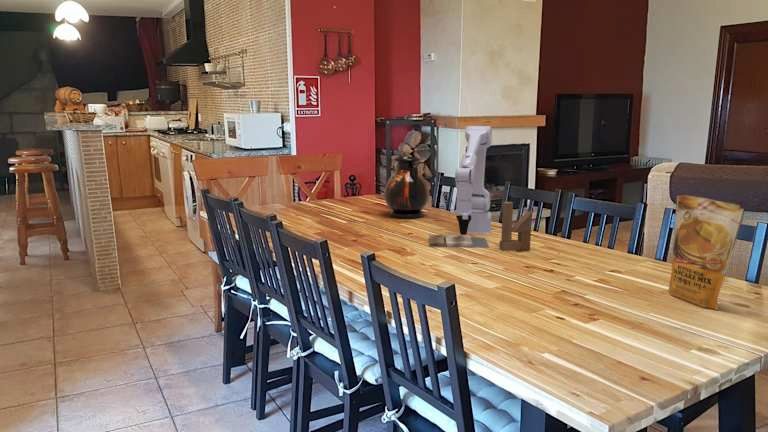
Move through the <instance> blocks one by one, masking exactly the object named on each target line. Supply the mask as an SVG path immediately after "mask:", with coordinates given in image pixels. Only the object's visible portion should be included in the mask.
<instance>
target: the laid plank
mask: <svg viewBox="0 0 768 432" xmlns="http://www.w3.org/2000/svg"><path fill="white" fill-rule="evenodd" d="M428 239H429V240H428V241H429V247H430V246H446V242H445V236H444V235H443V234H429V236H428Z"/></svg>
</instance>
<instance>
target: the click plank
mask: <svg viewBox="0 0 768 432" xmlns="http://www.w3.org/2000/svg"><path fill="white" fill-rule="evenodd" d="M444 237H445V240H446V245H447V246H452V247H451V248H466V247H473V242H472V240H471V238H472V237H471V235H470V234H466V235H461V234H445V235H444Z"/></svg>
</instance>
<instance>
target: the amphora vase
mask: <svg viewBox="0 0 768 432" xmlns="http://www.w3.org/2000/svg"><path fill="white" fill-rule="evenodd" d="M393 161H394V162H396V163H397V164H396V170H395V172H394V173H393V174H392V175H391V176H390V177H389V179H388V180H387V183H386V185H385V188H384V201H385V202H386V204H387V205H386V206H388V207H389V208H390V209H391V210H390V211H389V215H390V216H391V217H392V218H397V219H417V218H421V217H423V215H425V212H424V211H423V209H424V208H425V207H426V206H427V204H429V200H430V190H429V189H430V188H429V185H428V183H427V181H426V179H425V178H424V176H423V175H422V174H421V172H419V169H418V166H417V163H418V162H420V161H421V158H420V157H419V156H396V157H394V158H393Z"/></svg>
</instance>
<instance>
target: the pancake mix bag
mask: <svg viewBox="0 0 768 432" xmlns="http://www.w3.org/2000/svg"><path fill="white" fill-rule="evenodd" d="M675 197H676V199H675V201H676V204H675V205H676V206H675V213H674V214H675V215H674V217H675V218H674V224H673V225H674V227H673V237H672V253H671V254H672V257H671V274H670V278H669V279H670V280H669V284H668V285H669V286H668V289H667V292H668V293H670V294H669V295H670V296H672V297H674V298H676V299H679V300H681V301H683V302H687V303H689V304H692V305H695V306H697V307H699V308H702V309H707V310H717V311H719V306H718V305H719V303H718V299H719V295H720V292H721V290H722V286H723V283H724V281H725V277H726V274H727V273H726V272H727V270H728V267H729V264H730V260H731V257H732V253H733V251H734V249H735V246H736V242H737V241H736V240H737V237H738V233H739V231H740V227H741V225H742V222H743V220H744V215H745V208H742V206H741V205H740V204H738V203H733V202H728V201H721V200H715V199H712V198H707V197H702V196H695V195H689V194H688V195H687V194H679V195H677V196H675Z"/></svg>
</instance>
